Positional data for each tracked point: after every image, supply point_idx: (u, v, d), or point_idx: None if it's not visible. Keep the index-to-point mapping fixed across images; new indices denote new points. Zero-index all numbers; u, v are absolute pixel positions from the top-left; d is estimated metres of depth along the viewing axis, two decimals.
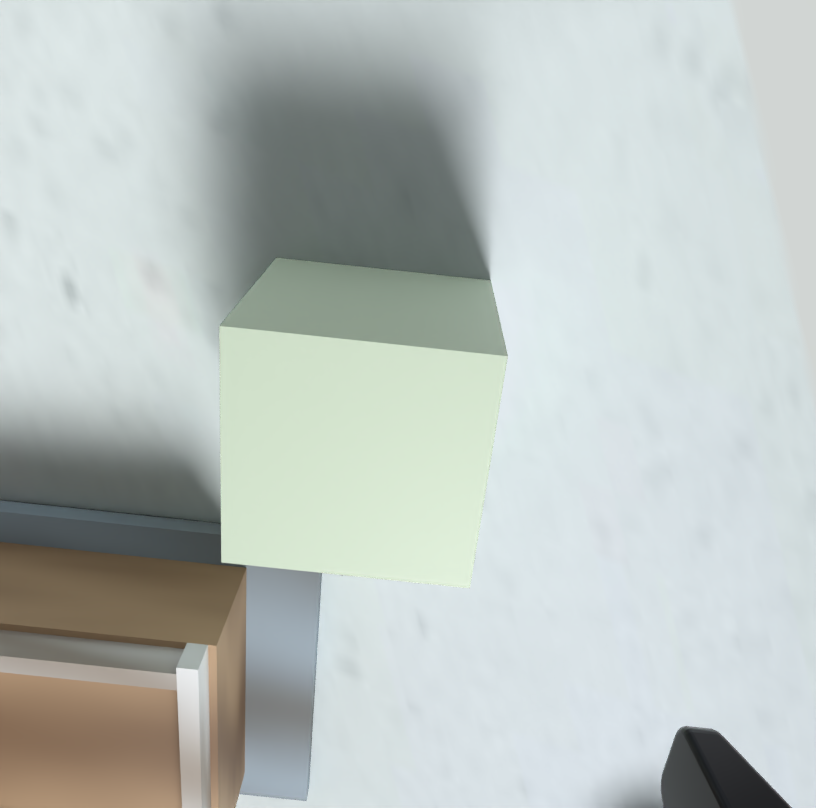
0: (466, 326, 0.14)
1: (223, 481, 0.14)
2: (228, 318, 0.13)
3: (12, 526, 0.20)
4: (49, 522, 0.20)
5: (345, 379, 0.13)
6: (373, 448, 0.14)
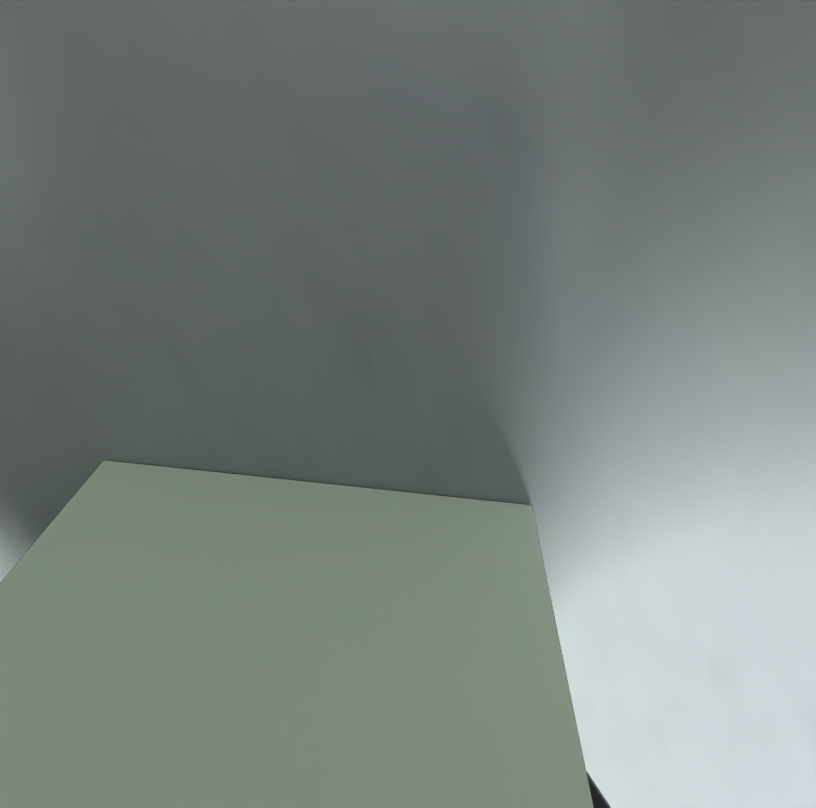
0: (493, 763, 0.05)
1: None
2: None
3: None
4: None
5: None
6: None
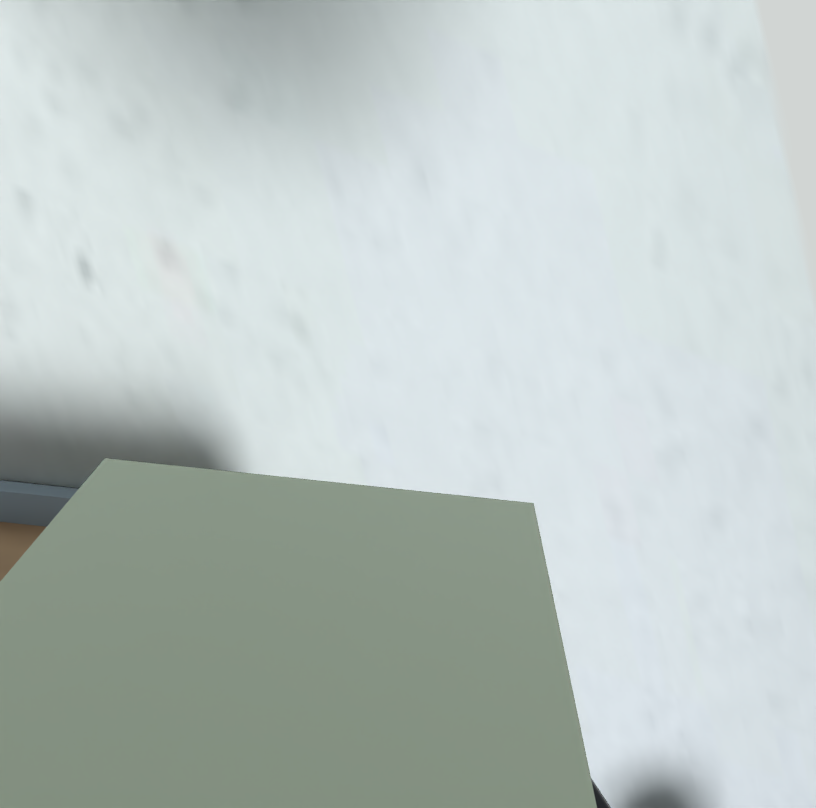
0: (496, 762, 0.05)
1: None
2: None
3: (26, 507, 0.20)
4: (63, 502, 0.20)
5: None
6: None
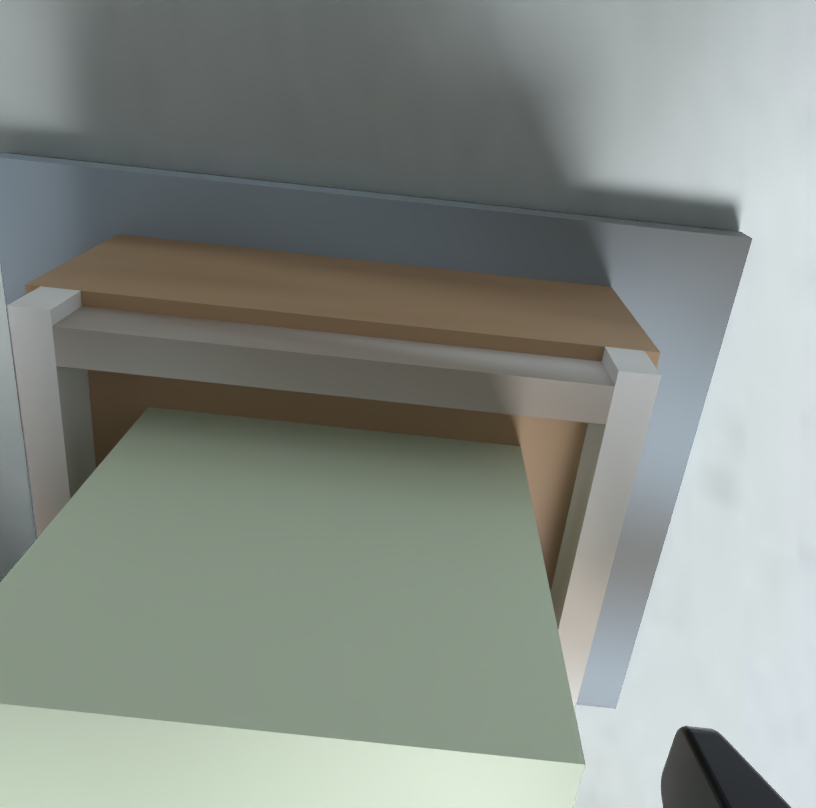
0: (484, 626, 0.07)
1: None
2: None
3: (221, 210, 0.12)
4: (286, 199, 0.12)
5: (208, 796, 0.06)
6: None
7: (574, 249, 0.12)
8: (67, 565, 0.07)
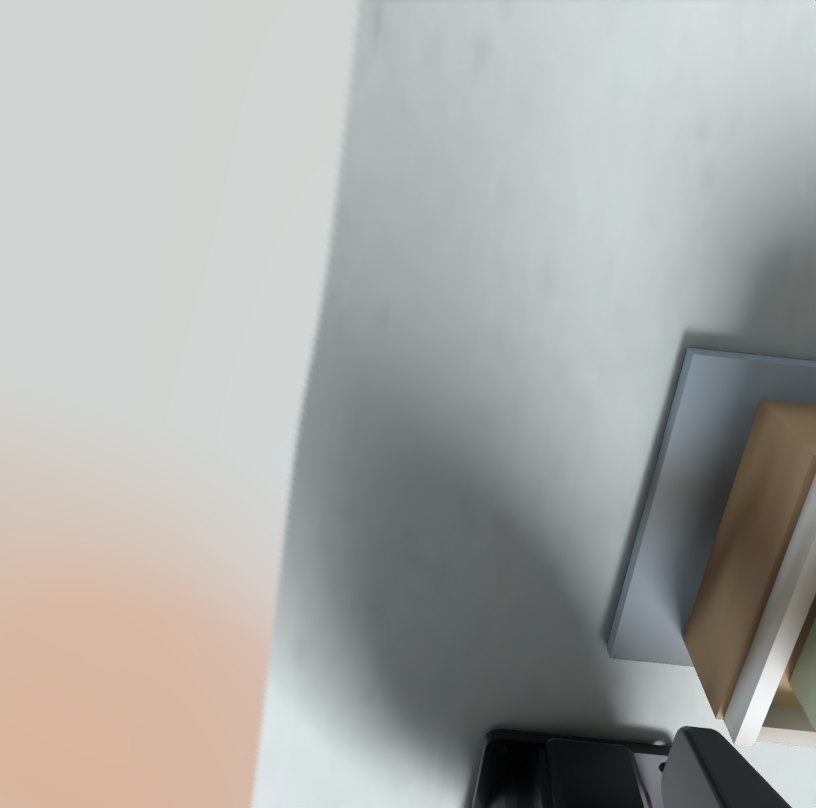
0: None
1: None
2: None
3: None
4: None
5: None
6: None
7: None
8: None
